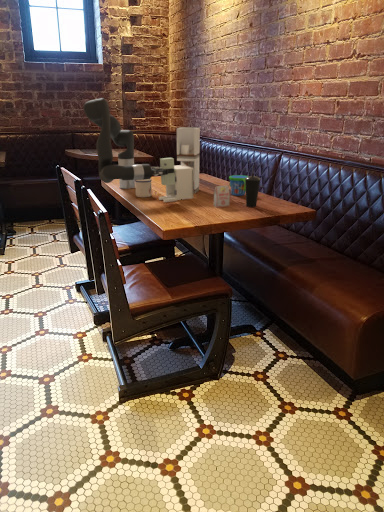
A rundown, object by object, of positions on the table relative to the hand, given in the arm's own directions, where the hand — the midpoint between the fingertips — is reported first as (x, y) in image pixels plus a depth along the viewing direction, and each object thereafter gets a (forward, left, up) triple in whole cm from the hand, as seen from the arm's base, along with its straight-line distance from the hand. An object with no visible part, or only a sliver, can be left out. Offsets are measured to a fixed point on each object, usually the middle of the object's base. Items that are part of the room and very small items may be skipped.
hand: (171, 170), depth 207 cm
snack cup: (+4, +39, -16) cm, 42 cm away
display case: (-18, +19, -16) cm, 30 cm away
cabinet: (-4, +3, -15) cm, 16 cm away
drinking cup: (+30, +29, -16) cm, 45 cm away
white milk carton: (+23, +16, -16) cm, 32 cm away
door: (0, -2, -7) cm, 7 cm away
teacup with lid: (-18, -9, -16) cm, 26 cm away
